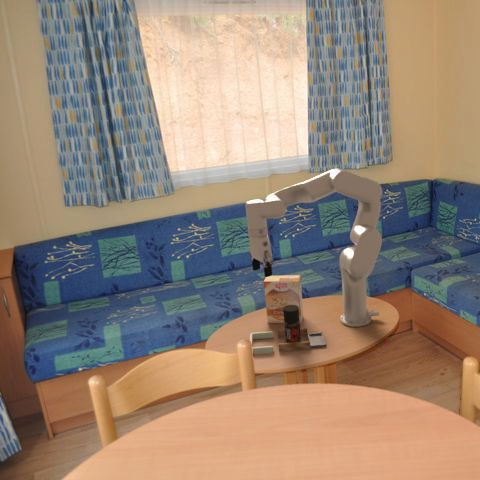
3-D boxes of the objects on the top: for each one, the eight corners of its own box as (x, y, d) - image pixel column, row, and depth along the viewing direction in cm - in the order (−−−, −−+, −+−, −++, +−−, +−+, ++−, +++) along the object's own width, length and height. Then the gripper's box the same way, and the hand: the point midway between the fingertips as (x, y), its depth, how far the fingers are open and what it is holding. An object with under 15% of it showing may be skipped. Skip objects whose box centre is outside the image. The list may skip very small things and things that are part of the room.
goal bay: (272, 336, 188) (272, 331, 187) (273, 352, 176) (273, 346, 175) (250, 338, 188) (250, 332, 188) (250, 354, 176) (249, 348, 175)
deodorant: (302, 339, 183) (299, 305, 179) (299, 347, 177) (296, 311, 173) (288, 338, 185) (285, 304, 181) (284, 346, 179) (281, 310, 175)
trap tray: (322, 334, 185) (322, 332, 185) (326, 346, 175) (326, 344, 175) (307, 335, 185) (307, 333, 185) (310, 348, 176) (310, 345, 176)
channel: (307, 334, 186) (307, 327, 185) (310, 349, 175) (310, 342, 174) (277, 336, 187) (277, 330, 186) (279, 351, 176) (278, 344, 175)
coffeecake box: (267, 323, 200) (263, 281, 194) (269, 315, 206) (266, 275, 201) (302, 323, 196) (298, 280, 191) (303, 315, 203) (300, 274, 198)
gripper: (277, 233, 173) (281, 276, 178) (255, 226, 189) (260, 265, 193) (260, 238, 170) (265, 281, 175) (239, 229, 186) (244, 269, 190)
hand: (262, 272), depth 184 cm, fingers open, 9 cm apart
